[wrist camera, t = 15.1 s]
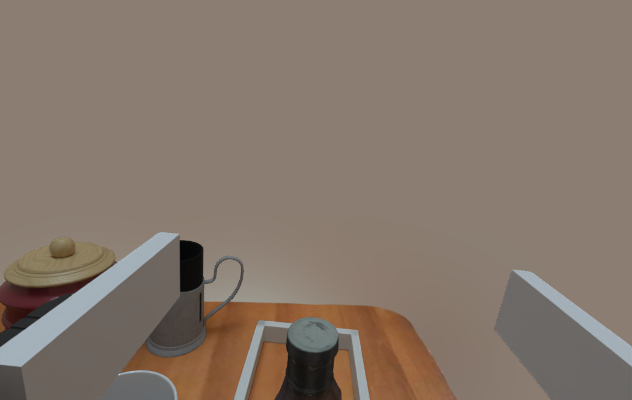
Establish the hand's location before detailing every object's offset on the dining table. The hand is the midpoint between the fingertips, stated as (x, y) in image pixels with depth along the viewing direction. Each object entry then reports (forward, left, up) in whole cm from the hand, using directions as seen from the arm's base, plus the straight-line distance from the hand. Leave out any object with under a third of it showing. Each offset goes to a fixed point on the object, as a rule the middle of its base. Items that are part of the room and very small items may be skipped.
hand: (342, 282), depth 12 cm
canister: (-33, +26, -30) cm, 52 cm away
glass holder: (-18, +32, -30) cm, 47 cm away
